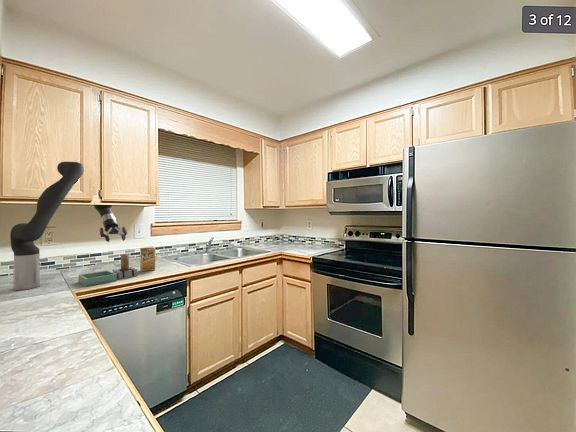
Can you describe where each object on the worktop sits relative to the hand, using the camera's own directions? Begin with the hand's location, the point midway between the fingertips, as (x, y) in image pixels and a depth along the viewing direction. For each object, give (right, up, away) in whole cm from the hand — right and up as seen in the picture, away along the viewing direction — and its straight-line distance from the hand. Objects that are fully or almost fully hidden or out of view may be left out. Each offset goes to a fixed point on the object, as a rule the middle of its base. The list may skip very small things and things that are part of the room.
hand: (116, 240), depth 161 cm
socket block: (+10, -21, -8) cm, 25 cm away
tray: (+3, -21, -19) cm, 29 cm away
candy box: (+15, -21, +9) cm, 28 cm away
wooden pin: (+10, -21, -8) cm, 25 cm away
